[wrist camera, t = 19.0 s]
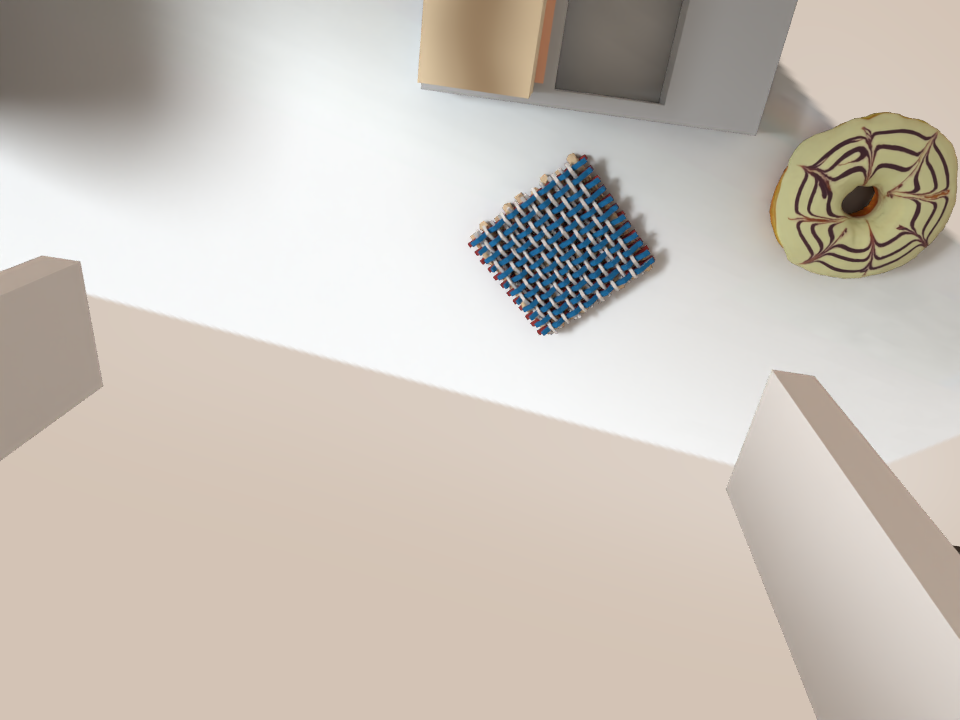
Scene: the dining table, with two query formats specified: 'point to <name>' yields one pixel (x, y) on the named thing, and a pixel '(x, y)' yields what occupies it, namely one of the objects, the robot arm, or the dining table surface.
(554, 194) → the woven mat
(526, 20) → the block
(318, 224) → the dining table surface
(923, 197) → the decorated donut
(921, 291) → the dining table surface
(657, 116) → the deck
